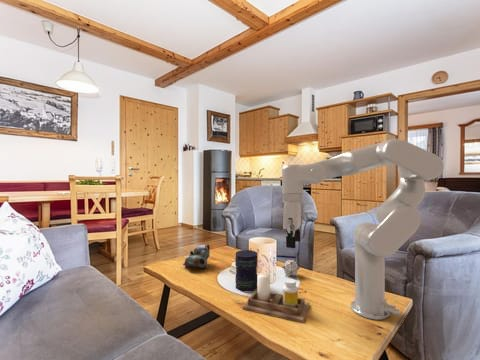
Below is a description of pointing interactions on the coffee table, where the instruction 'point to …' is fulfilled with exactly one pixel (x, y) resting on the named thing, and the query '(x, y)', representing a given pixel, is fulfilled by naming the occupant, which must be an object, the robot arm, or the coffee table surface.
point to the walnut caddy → (277, 307)
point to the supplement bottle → (290, 294)
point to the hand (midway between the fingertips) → (293, 244)
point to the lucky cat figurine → (198, 257)
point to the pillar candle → (263, 287)
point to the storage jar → (246, 270)
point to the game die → (291, 267)
